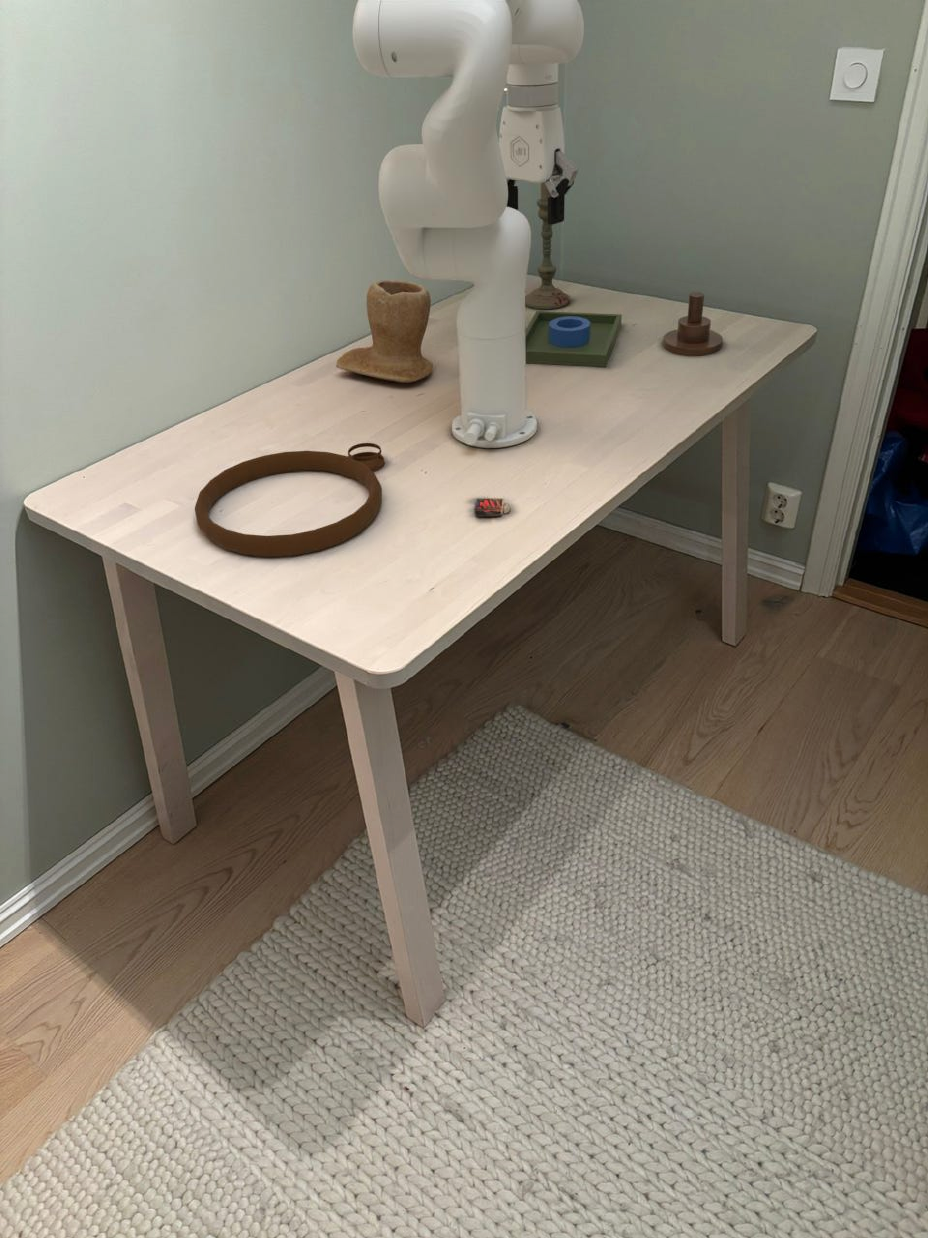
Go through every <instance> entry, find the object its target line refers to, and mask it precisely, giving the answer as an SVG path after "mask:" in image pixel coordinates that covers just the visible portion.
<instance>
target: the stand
mask: <svg viewBox="0 0 928 1238" xmlns="http://www.w3.org/2000/svg"><path fill="white" fill-rule="evenodd" d="M704 301H705V293H703V292H700V291H699V292H698V291H695V292H694V291H693V292H690V293H689V296H688V307H687V315H686V316H685V315H684V316H682V317H680V318H679V319H678V323H677V328H676V329H672V330H671V331H668V332H666V333H665V334H664V335H663V338H662V346H663V348H664V349H665V350H667V351H668V352H670V353H672V354H676V355H682V356H688V357H689V356H690V357H697V356H698V357H699V356H707V355H712V354H714V353H717V352H719V351H721V350H722V348H723V343H724V337H723V336H722V335H721V334H720V333H718V332H716V331H714V330H711V325H712V324H711V323H712V320H711V319H710V318H709V317H707V316H703V312H704V303H705V302H704Z"/></svg>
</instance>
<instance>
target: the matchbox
mask: <svg viewBox="0 0 928 1238" xmlns="http://www.w3.org/2000/svg"><path fill="white" fill-rule="evenodd" d="M504 501H505V497H489V496H487V497H477V498H475V499H474V508H473V511H474V514H475V516H476V517H498V516H502V515H503V514H508V513H510V512H511V507H510V505H509V504H508V503H506V504H505V502H504Z"/></svg>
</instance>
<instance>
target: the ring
mask: <svg viewBox="0 0 928 1238" xmlns="http://www.w3.org/2000/svg"><path fill="white" fill-rule="evenodd" d="M590 325H591V323H590V322H589V321H588V320H587V319H585V318H581V317H573V316H566V317H560V318H556V319H554V320H552V321H550V323H549V342H550V343H551V344H552V345H555V346H558V347H569V348H572V347H579V346H583V345H585V344H587V343H589V340H590Z"/></svg>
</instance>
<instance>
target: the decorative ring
mask: <svg viewBox="0 0 928 1238" xmlns="http://www.w3.org/2000/svg"><path fill="white" fill-rule="evenodd" d="M367 447H370V448H375V449H378V450H379V451H378V452H375V451H362V452H357V453H355V454H350V453H351V452H352V451H354V450H356V449H359V448H367ZM385 464H386V461H385V457H384V456H383V455H382V448H381V446H380V445H378V444H377V443H374V442H373V443H372V442H361V443H356V444H354V445H352V446H351V447H349V448H348V450H347V455H343V454H339V453H335V452H330V451H320V450H295V451H283V452H282V451H281V452H277V453H271V454H266V455H262V456H258V457H255V458H252V459H251V458H250V459H248V460H244V461H242V462H240V463H237V464H235V465H233V466H231V467H229V468H226V469H224V470H222V471H221V472H220V473H218V474H217V475H216V476H214V477H213V478H211V479H210V480H209V481H208V482H207V484H205V486H204V487H203V488H202V489H201V490H200V492H199V494H198V497H197V499H196V502H195V505H194V513H195V518H196V523H197V526H198V529H200V531H201V532H202V533H203V534H204V535H205V537H207V539H208V540H209V541H210V542H212V543H213V544H215V545H217V546H219V547H220V548H223V549H225V550H227V551H230V552H234V553H238V554H240V555H241V554H242V555H245V556H255V557H264V558H265V557H266V558H277V557H292V556H299V555H305V554H309V553H315V552H319V551H323V550H325V549H328V548H331V547H333V546H336V545H340V544H342V543H343V542H345V541H348V540H349V539H351V538H353V537H354V536H356V535H358V534H359V533H361V532H362V531H363V530H364V529H365V528H367V526H369V525H370V524H371V523H372V522H373V521H374V519H375V517H376V516H377V514H378V513H379V511H380V508H381V505H382V497H383V496H382V494H383V492H382V491H383V489H382V485H381V483H380V480H379V479H378V476H376V473H375V472H376V471H379V470H380V469H382V468H384V466H385ZM297 471H318V472H319V471H320V472H330V473H335V474H339V475H342V477H344V478H348V479H354V480H357V481H358V482H360V483H361V484H362V485H364V486H365V487H366V488H367V489H368V491H369V496H368V497H367V498H366V501H365V502H364V503H363V504H362V505H361V506H360V507H359V508H358V509H357V510H355V511H354V512H353V513H350V514H349V515H347V516H345V517H344V518H342V519H340V520H338V521H336V522H333V523H331V524H327V525H325V526H321V527H318V528H316V529H311V530H307V531H302V532H295V533H291V534H275V535H262V534H261V535H260V534H249V533H242V532H238V531H234V530H230V529H226V528H225V527H223V526H221V525H219V524H217V523H215V522H214V521H213V520H212V519H211V518H210V515H209V513H210V509H211V507H212V506H213V505H214V504H215V502H216V501H217V500H218V499H219V498H221V497H222V496H223V495H225V494H226V493H227V492H229V491H230V490H232V489H234V488H237V487H239V486H240V485H242V484H244V483H247V482H249V481H252V480H256V479H258V478H262V477H265V476H270V475H275V474H281V473H286V472H297Z"/></svg>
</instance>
